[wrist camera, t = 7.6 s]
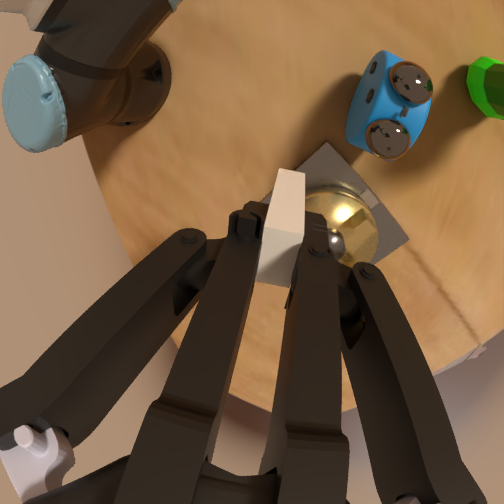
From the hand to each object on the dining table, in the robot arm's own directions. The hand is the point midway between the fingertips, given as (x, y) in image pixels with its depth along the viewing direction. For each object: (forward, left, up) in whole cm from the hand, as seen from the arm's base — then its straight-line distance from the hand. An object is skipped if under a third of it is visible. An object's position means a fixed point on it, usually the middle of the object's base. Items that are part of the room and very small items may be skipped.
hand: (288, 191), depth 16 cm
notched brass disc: (+16, -9, -25) cm, 30 cm away
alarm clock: (+5, +11, -26) cm, 29 cm away
